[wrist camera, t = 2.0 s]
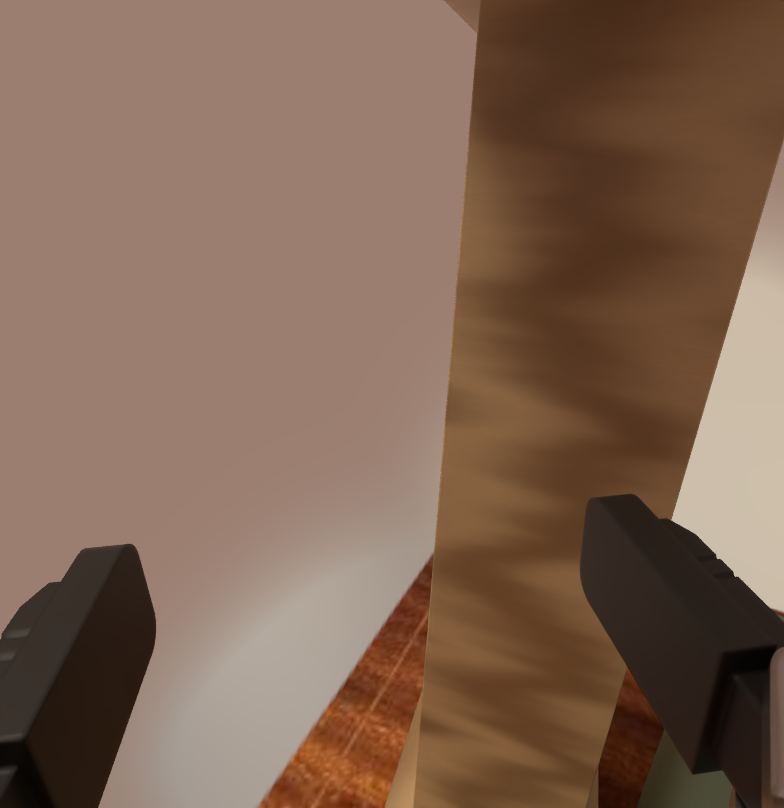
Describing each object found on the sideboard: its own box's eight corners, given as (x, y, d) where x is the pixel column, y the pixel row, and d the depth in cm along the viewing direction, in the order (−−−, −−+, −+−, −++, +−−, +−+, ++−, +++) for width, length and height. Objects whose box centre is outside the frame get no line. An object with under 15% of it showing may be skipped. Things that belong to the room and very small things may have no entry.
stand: (345, 944, 21) (344, -204, 8) (426, 684, 32) (487, -3, 18) (593, 1057, 19) (1200, -323, 5) (594, 735, 29) (804, -14, 16)
